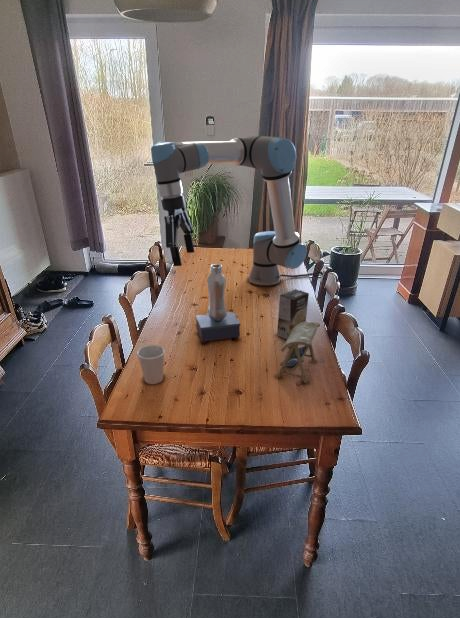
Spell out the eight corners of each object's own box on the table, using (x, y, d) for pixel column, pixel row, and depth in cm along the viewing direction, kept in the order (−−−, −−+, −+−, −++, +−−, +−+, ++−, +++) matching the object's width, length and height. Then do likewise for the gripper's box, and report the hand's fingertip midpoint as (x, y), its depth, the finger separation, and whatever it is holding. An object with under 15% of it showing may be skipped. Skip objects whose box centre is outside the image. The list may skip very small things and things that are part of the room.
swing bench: (288, 356, 149) (292, 317, 141) (316, 361, 146) (321, 321, 138) (276, 378, 137) (279, 336, 129) (306, 384, 134) (311, 342, 126)
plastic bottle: (224, 324, 154) (224, 269, 143) (206, 322, 155) (204, 268, 144) (228, 316, 159) (228, 263, 149) (210, 314, 160) (209, 262, 150)
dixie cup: (144, 388, 132) (140, 360, 126) (137, 375, 138) (133, 347, 133) (170, 382, 135) (168, 355, 129) (162, 369, 141) (160, 342, 136)
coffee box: (289, 341, 158) (293, 300, 149) (276, 335, 162) (278, 295, 153) (305, 333, 163) (309, 293, 155) (291, 327, 167) (295, 288, 159)
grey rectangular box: (233, 328, 167) (233, 311, 163) (240, 340, 158) (240, 323, 154) (196, 332, 164) (195, 315, 160) (201, 345, 155) (200, 327, 151)
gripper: (174, 188, 153) (186, 247, 164) (146, 206, 133) (161, 272, 144) (194, 186, 151) (205, 246, 162) (168, 204, 131) (182, 271, 142)
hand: (184, 258), depth 153 cm, fingers open, 13 cm apart
